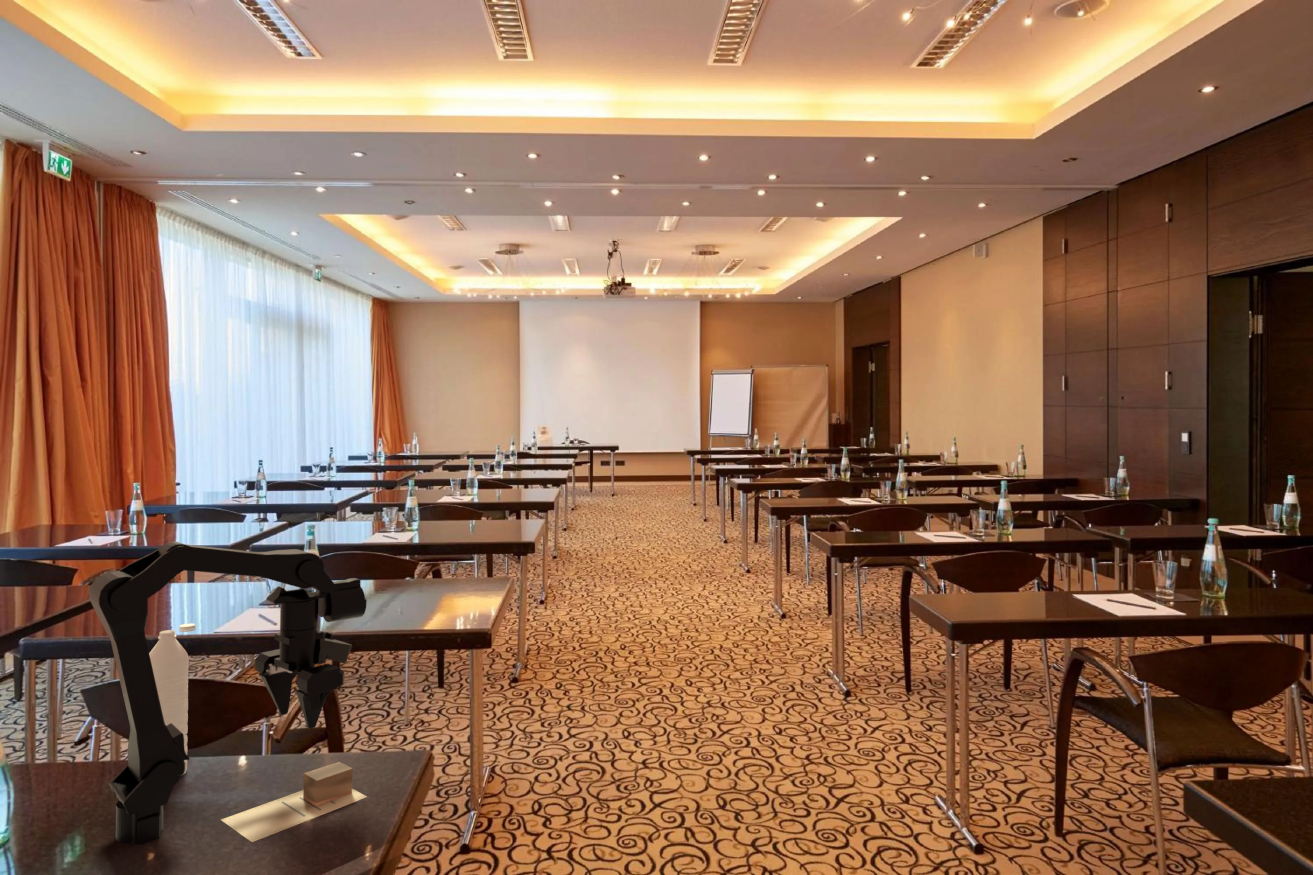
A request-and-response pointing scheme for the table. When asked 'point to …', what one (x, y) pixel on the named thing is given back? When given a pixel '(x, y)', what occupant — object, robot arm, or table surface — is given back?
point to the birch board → (283, 814)
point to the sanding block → (327, 783)
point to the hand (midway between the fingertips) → (297, 720)
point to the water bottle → (172, 679)
